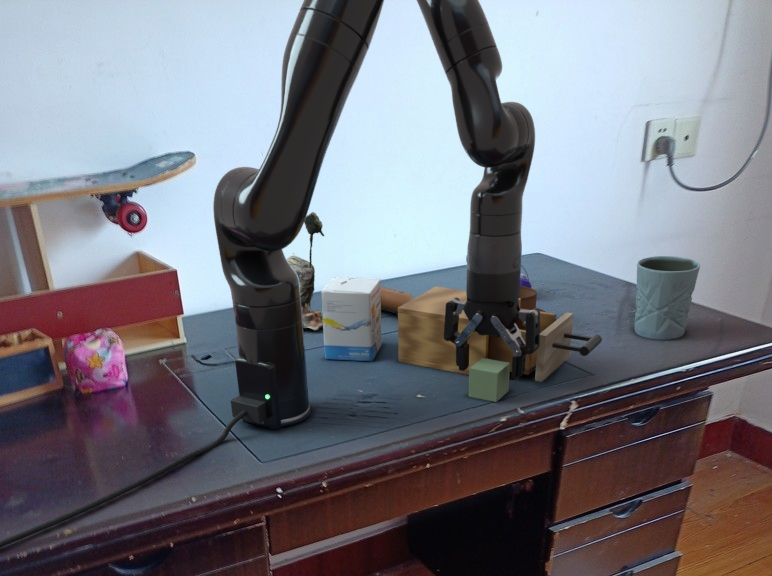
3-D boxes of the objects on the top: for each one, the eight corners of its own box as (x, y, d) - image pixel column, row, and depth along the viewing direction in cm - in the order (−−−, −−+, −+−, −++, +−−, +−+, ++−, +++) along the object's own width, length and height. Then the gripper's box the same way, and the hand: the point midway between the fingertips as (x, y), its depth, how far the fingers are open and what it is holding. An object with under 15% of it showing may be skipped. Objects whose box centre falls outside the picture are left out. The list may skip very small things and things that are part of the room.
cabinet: (517, 352, 140) (520, 298, 135) (484, 378, 130) (487, 321, 126) (435, 337, 147) (435, 286, 142) (398, 361, 137) (397, 307, 132)
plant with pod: (302, 313, 160) (294, 204, 150) (341, 326, 153) (335, 213, 143) (269, 323, 156) (258, 212, 145) (307, 337, 149) (298, 221, 138)
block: (496, 402, 123) (497, 373, 120) (468, 396, 125) (469, 367, 122) (508, 391, 126) (510, 362, 123) (481, 386, 128) (482, 357, 125)
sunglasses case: (445, 311, 158) (434, 285, 152) (424, 337, 156) (412, 312, 151) (377, 293, 168) (365, 269, 163) (357, 318, 166) (344, 294, 161)
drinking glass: (699, 336, 144) (712, 266, 137) (650, 344, 141) (661, 274, 135) (664, 319, 152) (674, 253, 146) (617, 327, 149) (625, 259, 143)
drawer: (604, 362, 132) (609, 318, 128) (578, 388, 124) (584, 341, 120) (487, 342, 141) (489, 300, 137) (456, 365, 133) (457, 321, 129)
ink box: (372, 362, 138) (370, 292, 131) (323, 359, 139) (319, 290, 133) (383, 344, 145) (381, 277, 138) (336, 342, 146) (332, 275, 140)
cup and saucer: (517, 341, 144) (519, 306, 141) (467, 325, 152) (469, 292, 149) (561, 325, 151) (564, 291, 147) (511, 310, 159) (513, 278, 155)
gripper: (551, 262, 115) (543, 372, 124) (459, 252, 121) (457, 357, 130) (532, 277, 109) (524, 390, 118) (436, 265, 116) (435, 374, 124)
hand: (489, 373), depth 124 cm, fingers open, 8 cm apart
